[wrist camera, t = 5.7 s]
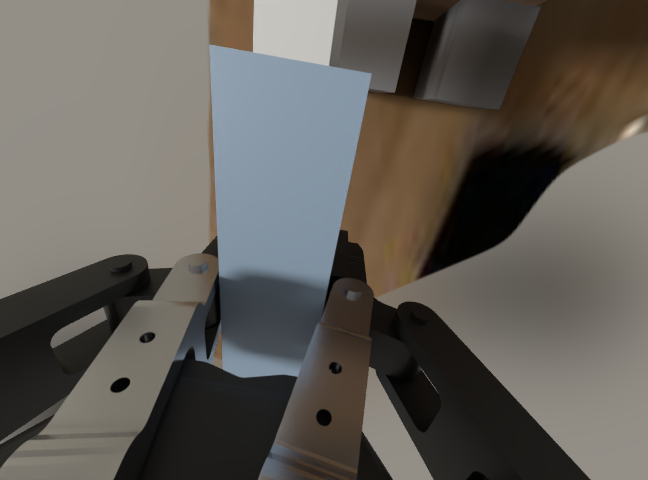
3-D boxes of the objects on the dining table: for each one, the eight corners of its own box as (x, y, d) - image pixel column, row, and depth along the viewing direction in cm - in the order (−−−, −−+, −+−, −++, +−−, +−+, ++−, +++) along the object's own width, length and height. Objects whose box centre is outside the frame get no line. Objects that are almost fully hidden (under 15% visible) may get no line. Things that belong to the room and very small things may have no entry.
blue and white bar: (285, -163, 7) (182, -608, 3) (401, -142, 7) (498, -538, 3) (258, 343, 16) (225, 437, 12) (308, 351, 16) (294, 448, 12)
